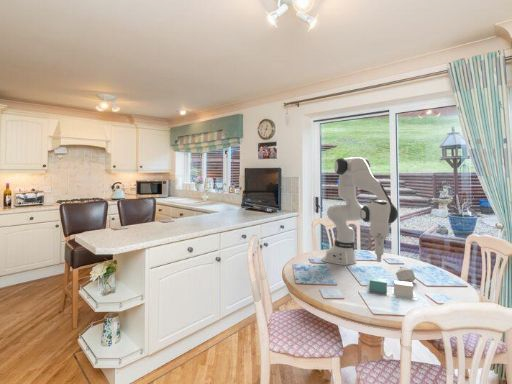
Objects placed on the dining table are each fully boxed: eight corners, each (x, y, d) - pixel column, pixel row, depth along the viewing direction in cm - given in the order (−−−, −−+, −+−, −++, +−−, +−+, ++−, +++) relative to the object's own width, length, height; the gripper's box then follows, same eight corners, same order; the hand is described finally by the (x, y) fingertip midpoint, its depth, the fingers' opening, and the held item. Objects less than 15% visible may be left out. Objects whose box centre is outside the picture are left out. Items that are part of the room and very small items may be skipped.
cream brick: (394, 293, 135) (394, 283, 135) (393, 289, 140) (394, 280, 139) (413, 296, 132) (413, 286, 131) (411, 292, 136) (412, 282, 136)
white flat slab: (367, 294, 136) (367, 292, 136) (367, 284, 148) (367, 282, 148) (417, 302, 128) (417, 300, 127) (414, 291, 139) (414, 289, 139)
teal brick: (369, 289, 140) (369, 280, 139) (369, 286, 144) (369, 276, 144) (386, 292, 136) (386, 282, 136) (386, 288, 141) (386, 279, 141)
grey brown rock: (402, 288, 145) (416, 274, 143) (389, 275, 152) (402, 262, 149) (408, 289, 151) (421, 276, 148) (395, 276, 157) (408, 264, 155)
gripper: (387, 236, 127) (386, 265, 128) (385, 228, 146) (384, 254, 147) (372, 235, 130) (371, 264, 131) (372, 228, 149) (372, 252, 149)
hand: (378, 258), depth 139 cm, fingers open, 8 cm apart
